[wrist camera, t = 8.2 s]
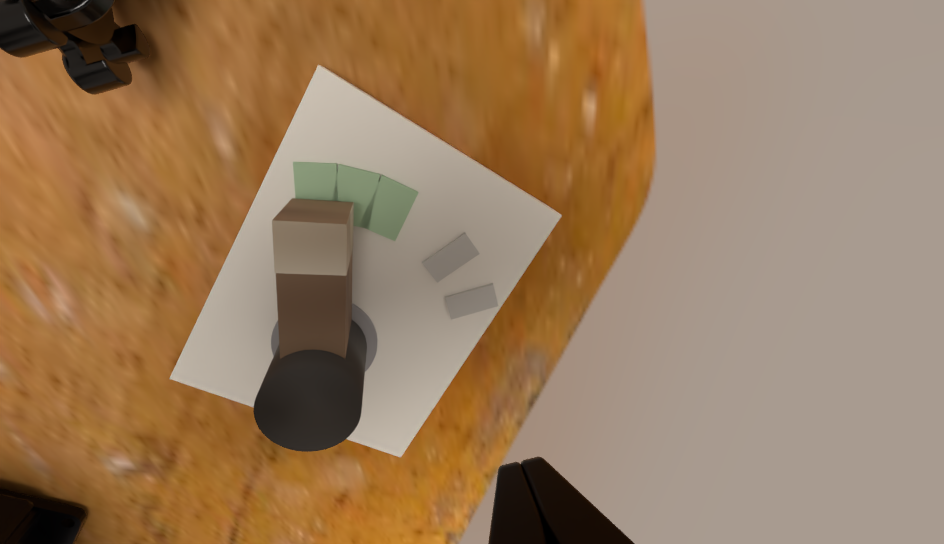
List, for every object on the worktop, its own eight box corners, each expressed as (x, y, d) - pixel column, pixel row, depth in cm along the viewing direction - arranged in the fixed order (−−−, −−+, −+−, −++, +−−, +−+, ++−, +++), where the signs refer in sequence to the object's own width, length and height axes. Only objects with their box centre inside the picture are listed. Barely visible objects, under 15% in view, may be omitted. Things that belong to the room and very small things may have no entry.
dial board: (400, 438, 22) (400, 460, 21) (182, 361, 19) (166, 381, 17) (551, 207, 19) (563, 216, 18) (323, 66, 15) (317, 64, 14)
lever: (365, 381, 18) (360, 449, 15) (282, 382, 18) (256, 453, 14) (370, 203, 16) (365, 235, 12) (273, 196, 15) (239, 228, 12)
